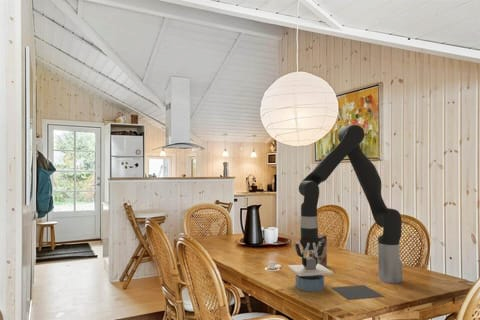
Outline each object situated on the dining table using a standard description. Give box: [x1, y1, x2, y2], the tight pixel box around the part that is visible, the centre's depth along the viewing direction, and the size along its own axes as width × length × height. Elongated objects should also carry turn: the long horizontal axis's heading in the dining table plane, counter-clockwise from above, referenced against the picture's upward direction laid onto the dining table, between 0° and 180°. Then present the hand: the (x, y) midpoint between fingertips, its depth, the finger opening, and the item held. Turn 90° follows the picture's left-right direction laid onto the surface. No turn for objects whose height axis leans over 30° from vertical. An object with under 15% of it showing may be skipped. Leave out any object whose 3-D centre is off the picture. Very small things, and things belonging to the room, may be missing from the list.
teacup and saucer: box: [264, 260, 282, 272], centre depth 195 cm, size 9×8×4 cm
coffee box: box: [308, 234, 328, 267], centre depth 199 cm, size 9×6×16 cm
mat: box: [330, 284, 386, 301], centre depth 155 cm, size 16×16×1 cm
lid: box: [287, 256, 334, 276], centre depth 163 cm, size 15×15×5 cm
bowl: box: [295, 274, 326, 292], centre depth 163 cm, size 12×12×5 cm
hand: (309, 265), depth 163 cm, fingers closed on lid, 4 cm apart
